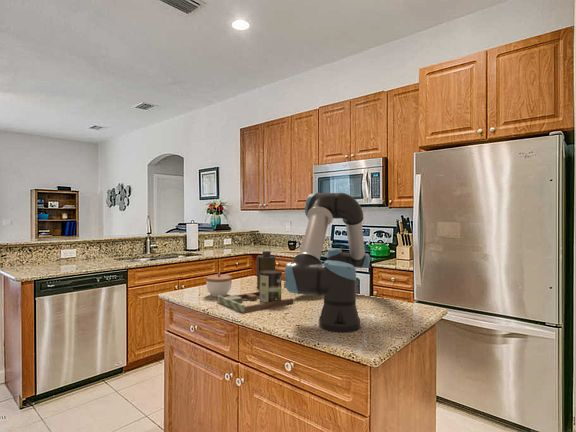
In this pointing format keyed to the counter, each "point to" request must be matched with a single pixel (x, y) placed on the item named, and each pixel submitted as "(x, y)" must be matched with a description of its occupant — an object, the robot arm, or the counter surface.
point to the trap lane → (237, 299)
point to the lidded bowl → (218, 284)
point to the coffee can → (270, 286)
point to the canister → (264, 264)
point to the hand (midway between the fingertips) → (284, 285)
